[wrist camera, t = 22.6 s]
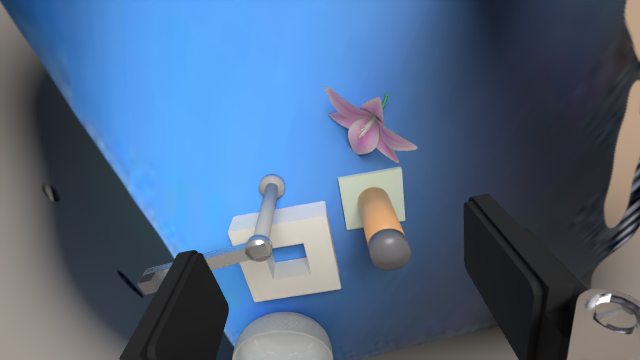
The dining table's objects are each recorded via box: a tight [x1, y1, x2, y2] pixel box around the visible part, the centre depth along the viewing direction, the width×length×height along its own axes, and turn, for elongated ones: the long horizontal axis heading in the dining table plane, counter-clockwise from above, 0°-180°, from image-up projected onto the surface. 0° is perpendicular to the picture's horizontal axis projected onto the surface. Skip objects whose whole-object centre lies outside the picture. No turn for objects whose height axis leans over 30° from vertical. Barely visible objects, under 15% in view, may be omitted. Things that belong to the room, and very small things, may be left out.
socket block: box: [228, 175, 341, 302], centre depth 44 cm, size 14×20×13 cm
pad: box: [338, 167, 405, 230], centre depth 48 cm, size 9×9×1 cm
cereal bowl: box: [233, 312, 333, 360], centre depth 57 cm, size 17×17×7 cm
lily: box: [325, 86, 417, 163], centre depth 39 cm, size 12×12×10 cm
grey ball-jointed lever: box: [137, 235, 273, 295], centre depth 34 cm, size 14×3×2 cm, turn 107°
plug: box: [358, 187, 411, 271], centre depth 42 cm, size 5×5×12 cm
